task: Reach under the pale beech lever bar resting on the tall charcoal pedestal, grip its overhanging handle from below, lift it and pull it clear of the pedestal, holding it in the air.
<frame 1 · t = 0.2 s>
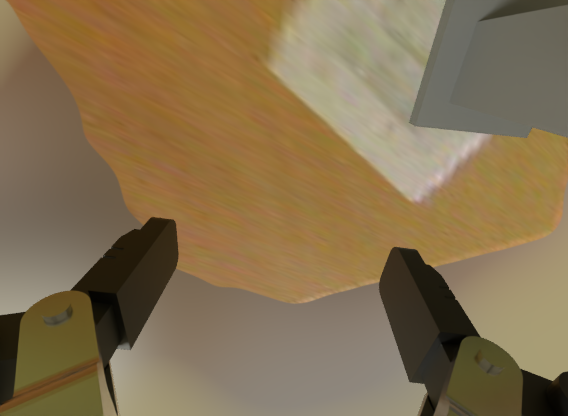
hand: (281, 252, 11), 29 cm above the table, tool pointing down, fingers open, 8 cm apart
charcoal pedestal: (486, 68, 33), on the table
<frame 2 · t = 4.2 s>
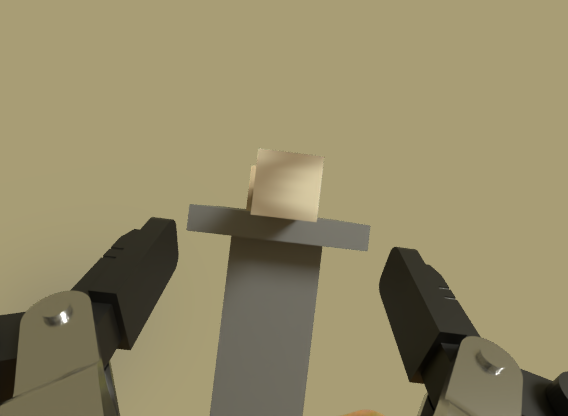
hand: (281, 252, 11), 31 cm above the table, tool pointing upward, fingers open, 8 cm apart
beech lever bar: (280, 214, 23), point 32 cm above the table, touching charcoal pedestal
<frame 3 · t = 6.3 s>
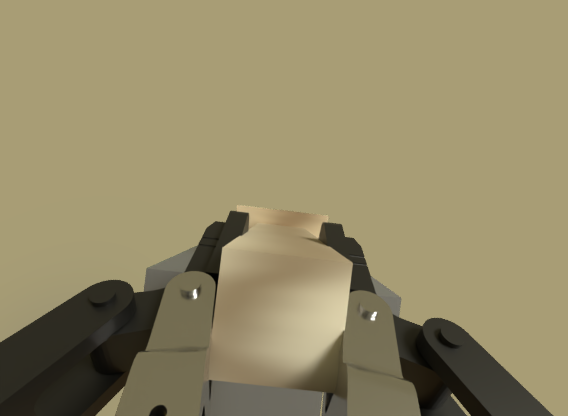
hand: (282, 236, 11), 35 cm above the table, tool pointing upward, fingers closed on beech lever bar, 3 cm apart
beech lever bar: (275, 278, 16), point 32 cm above the table, touching charcoal pedestal, gripper
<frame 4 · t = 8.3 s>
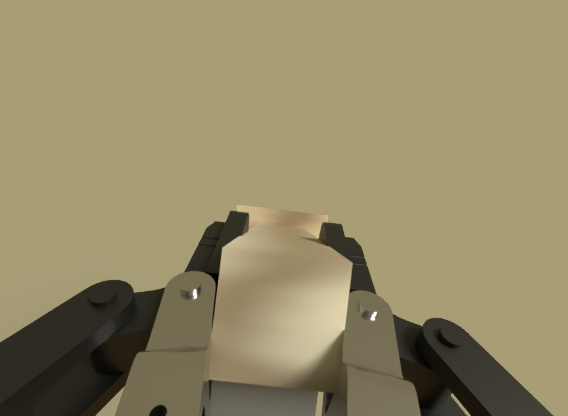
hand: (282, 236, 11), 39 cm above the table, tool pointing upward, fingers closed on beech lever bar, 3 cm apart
beech lever bar: (275, 278, 16), point 36 cm above the table, touching gripper
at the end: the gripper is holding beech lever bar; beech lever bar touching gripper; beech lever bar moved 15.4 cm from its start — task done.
